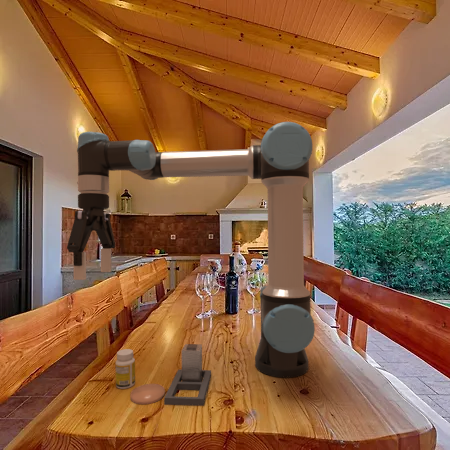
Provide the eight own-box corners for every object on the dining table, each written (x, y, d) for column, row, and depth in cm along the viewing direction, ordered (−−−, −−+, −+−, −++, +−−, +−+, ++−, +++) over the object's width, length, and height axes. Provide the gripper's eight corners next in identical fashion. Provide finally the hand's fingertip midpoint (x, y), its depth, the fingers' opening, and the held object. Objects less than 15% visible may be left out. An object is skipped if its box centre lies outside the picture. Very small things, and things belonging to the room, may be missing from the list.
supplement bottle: (128, 378, 84) (128, 346, 85) (138, 383, 81) (138, 351, 82) (111, 385, 81) (111, 352, 81) (122, 391, 78) (122, 357, 78)
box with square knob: (202, 378, 84) (201, 342, 84) (199, 386, 80) (199, 349, 80) (185, 378, 84) (185, 342, 85) (181, 386, 80) (181, 349, 80)
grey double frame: (211, 375, 85) (211, 370, 85) (203, 405, 71) (203, 399, 71) (178, 375, 86) (178, 369, 86) (164, 404, 72) (164, 397, 72)
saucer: (168, 387, 79) (168, 384, 79) (159, 404, 71) (159, 401, 71) (137, 386, 80) (137, 383, 80) (125, 403, 72) (125, 400, 72)
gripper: (102, 198, 95) (102, 269, 95) (49, 187, 70) (49, 283, 70) (126, 198, 94) (127, 269, 94) (81, 187, 70) (82, 283, 69)
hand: (94, 275), depth 82 cm, fingers open, 13 cm apart
